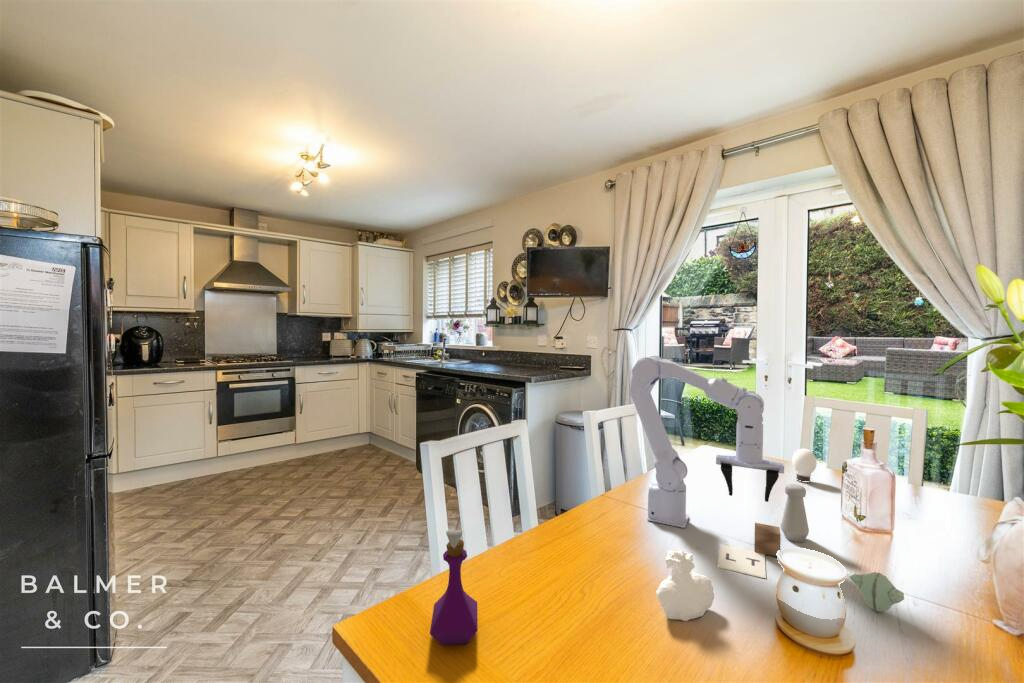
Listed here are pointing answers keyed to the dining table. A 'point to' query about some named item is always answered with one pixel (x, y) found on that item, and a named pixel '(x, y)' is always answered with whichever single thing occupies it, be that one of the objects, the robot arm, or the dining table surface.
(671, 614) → the bust
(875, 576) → the green seashell
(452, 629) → the perfume bottle
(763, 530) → the block
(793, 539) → the salt shaker
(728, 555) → the label tile
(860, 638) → the dining table surface
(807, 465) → the light bulb
